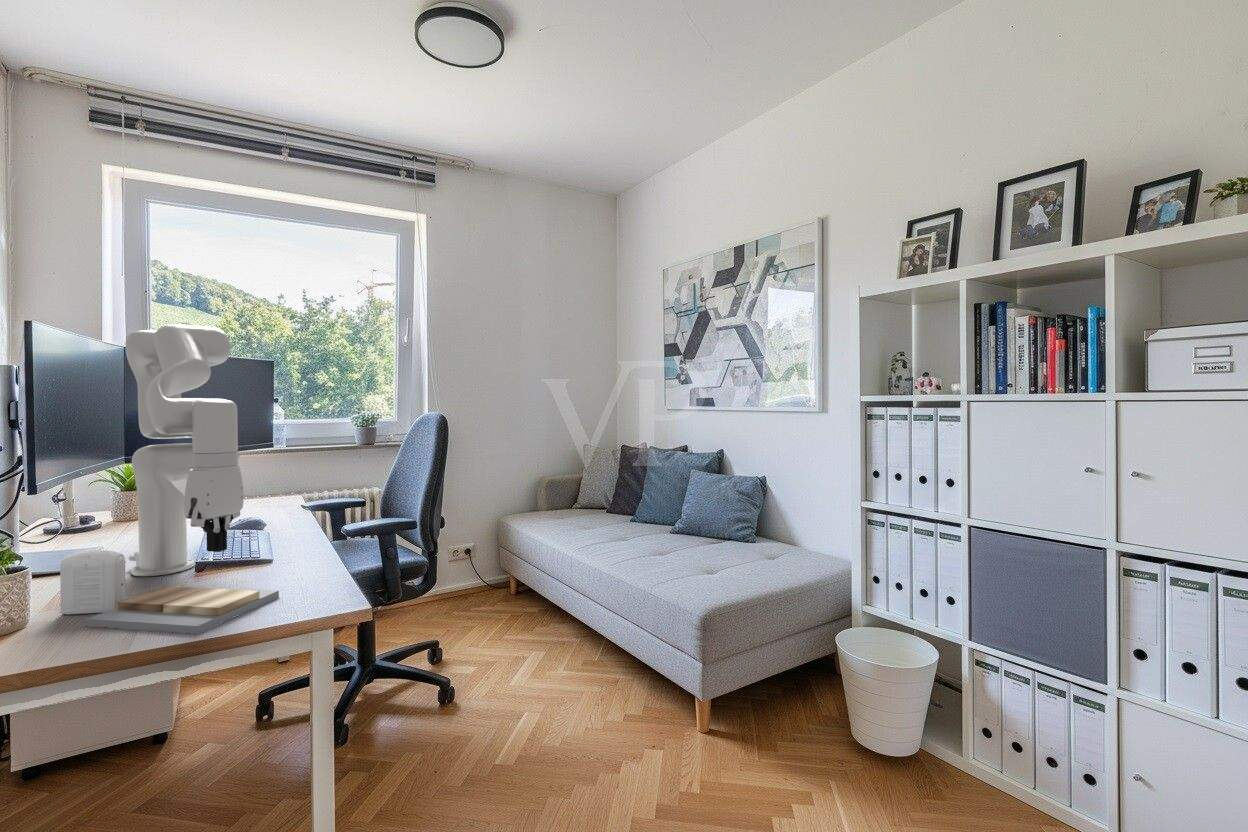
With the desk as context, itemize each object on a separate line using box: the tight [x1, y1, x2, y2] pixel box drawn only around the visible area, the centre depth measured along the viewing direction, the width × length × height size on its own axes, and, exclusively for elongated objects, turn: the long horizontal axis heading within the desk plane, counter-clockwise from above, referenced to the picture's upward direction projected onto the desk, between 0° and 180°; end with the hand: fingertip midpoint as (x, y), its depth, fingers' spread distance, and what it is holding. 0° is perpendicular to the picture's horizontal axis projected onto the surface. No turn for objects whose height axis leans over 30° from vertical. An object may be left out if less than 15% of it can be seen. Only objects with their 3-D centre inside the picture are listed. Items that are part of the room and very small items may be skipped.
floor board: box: [85, 584, 280, 635], centre depth 117 cm, size 24×20×2 cm
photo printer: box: [59, 549, 127, 615], centre depth 117 cm, size 10×4×12 cm, turn 103°
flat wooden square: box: [118, 585, 206, 612], centre depth 118 cm, size 10×10×2 cm
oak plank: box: [163, 588, 260, 616], centre depth 116 cm, size 12×10×2 cm
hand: (216, 550), depth 118 cm, fingers closed
